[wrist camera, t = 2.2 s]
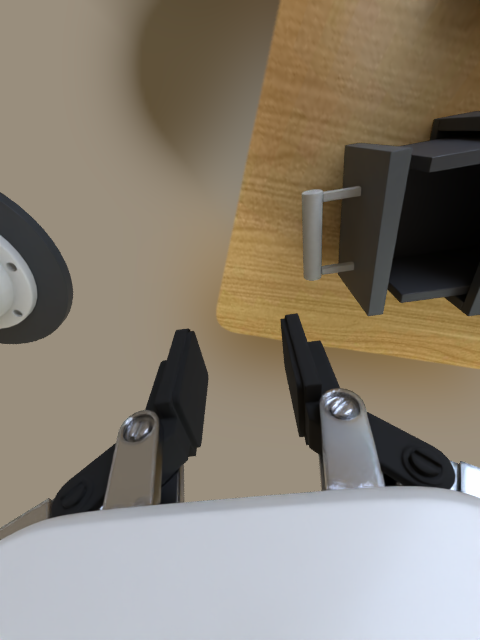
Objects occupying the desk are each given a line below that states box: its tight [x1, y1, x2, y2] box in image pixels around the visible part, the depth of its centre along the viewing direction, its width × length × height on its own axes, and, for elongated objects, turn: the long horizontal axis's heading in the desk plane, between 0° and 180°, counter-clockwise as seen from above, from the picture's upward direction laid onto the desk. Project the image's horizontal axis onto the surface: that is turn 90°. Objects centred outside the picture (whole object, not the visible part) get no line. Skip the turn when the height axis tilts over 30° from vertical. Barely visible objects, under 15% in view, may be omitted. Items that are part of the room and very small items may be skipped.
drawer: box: [302, 132, 480, 316], centre depth 21 cm, size 18×11×8 cm, turn 99°
